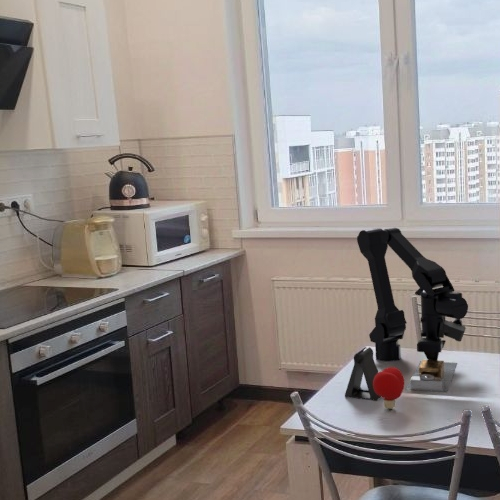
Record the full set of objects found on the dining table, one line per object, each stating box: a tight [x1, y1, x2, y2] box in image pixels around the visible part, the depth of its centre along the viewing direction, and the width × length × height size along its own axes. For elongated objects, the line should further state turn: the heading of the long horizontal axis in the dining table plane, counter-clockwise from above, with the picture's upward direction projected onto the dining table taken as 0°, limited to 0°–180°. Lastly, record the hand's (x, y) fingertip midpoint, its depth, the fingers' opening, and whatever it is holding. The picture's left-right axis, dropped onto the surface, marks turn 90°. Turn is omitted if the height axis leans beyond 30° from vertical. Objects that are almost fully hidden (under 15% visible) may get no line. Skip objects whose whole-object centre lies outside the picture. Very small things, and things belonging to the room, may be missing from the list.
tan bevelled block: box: [419, 359, 445, 378], centre depth 200 cm, size 6×7×4 cm
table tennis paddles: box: [373, 366, 405, 411], centre depth 182 cm, size 9×7×10 cm
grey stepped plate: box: [405, 360, 458, 395], centre depth 203 cm, size 10×25×4 cm, turn 159°
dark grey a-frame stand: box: [344, 346, 382, 402], centre depth 193 cm, size 9×6×12 cm, turn 59°
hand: (434, 368), depth 205 cm, fingers closed
